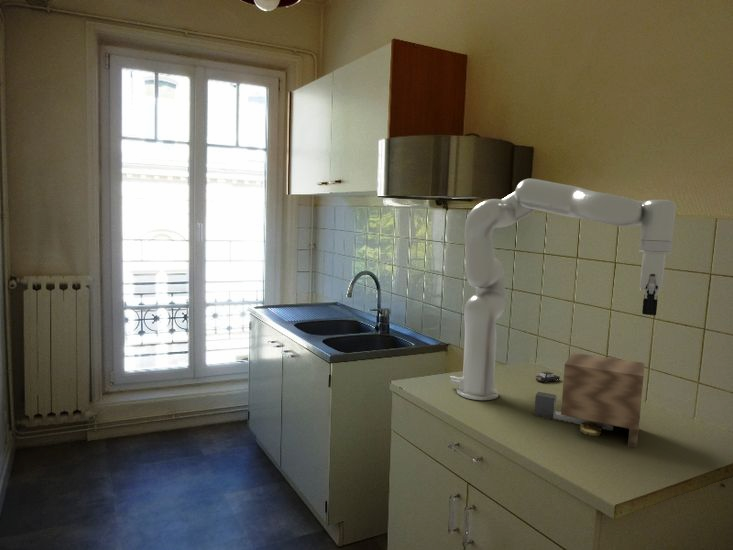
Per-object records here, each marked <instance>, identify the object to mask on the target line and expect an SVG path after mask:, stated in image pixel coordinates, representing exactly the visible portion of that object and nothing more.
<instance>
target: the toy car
mask: <svg viewBox="0 0 733 550" xmlns="http://www.w3.org/2000/svg"><path fill="white" fill-rule="evenodd" d="M531 363H533V364H534V361H533V360H531ZM534 366H535V364H534ZM537 371H538V372H539V374H538V375H535V380H536V381H537V382H540V383H544V382H546V381H547V382H553V381H552V380H557V379H558V380H559V381H560V379H561V376H559V375H558V374H555V373H554V372H551V371H548V370H547V371H541V372H540V371H539V369H537Z"/></svg>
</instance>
